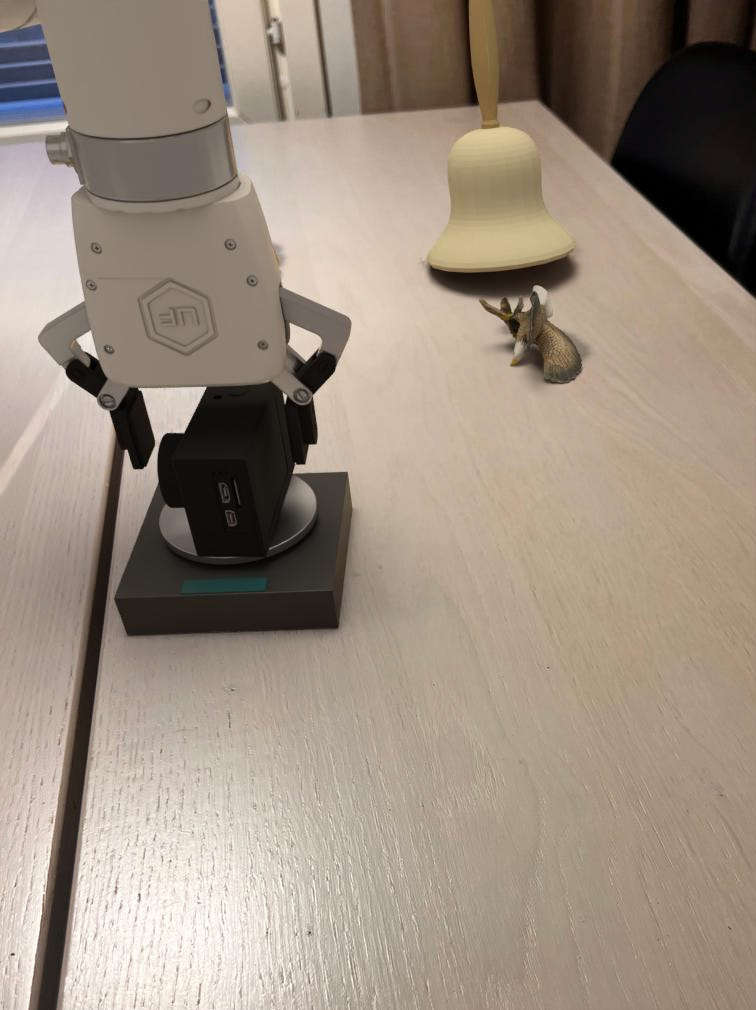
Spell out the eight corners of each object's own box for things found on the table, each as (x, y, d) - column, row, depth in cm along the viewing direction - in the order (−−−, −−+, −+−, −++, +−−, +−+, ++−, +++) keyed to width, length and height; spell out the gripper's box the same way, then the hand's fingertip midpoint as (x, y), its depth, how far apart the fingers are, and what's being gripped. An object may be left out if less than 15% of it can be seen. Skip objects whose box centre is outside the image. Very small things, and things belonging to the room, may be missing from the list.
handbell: (461, 296, 93) (428, -20, 80) (407, 271, 105) (371, -8, 92) (604, 267, 98) (595, -37, 84) (536, 246, 110) (519, -23, 96)
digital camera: (216, 465, 67) (194, 370, 62) (295, 465, 67) (279, 370, 62) (177, 558, 59) (148, 457, 55) (266, 558, 59) (245, 457, 55)
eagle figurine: (460, 343, 86) (513, 365, 79) (491, 263, 84) (548, 278, 78) (526, 372, 91) (582, 394, 84) (557, 296, 89) (616, 313, 82)
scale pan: (147, 573, 60) (143, 560, 59) (179, 482, 67) (176, 470, 67) (311, 567, 60) (308, 554, 59) (325, 477, 68) (323, 465, 67)
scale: (126, 635, 60) (112, 596, 58) (169, 513, 70) (159, 476, 68) (338, 628, 60) (332, 588, 58) (352, 507, 70) (347, 469, 68)
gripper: (-44, 187, 46) (65, 494, 58) (325, 178, 46) (360, 485, 58) (8, 140, 52) (98, 428, 63) (337, 131, 52) (367, 420, 63)
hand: (223, 455), depth 61 cm, fingers open, 9 cm apart
